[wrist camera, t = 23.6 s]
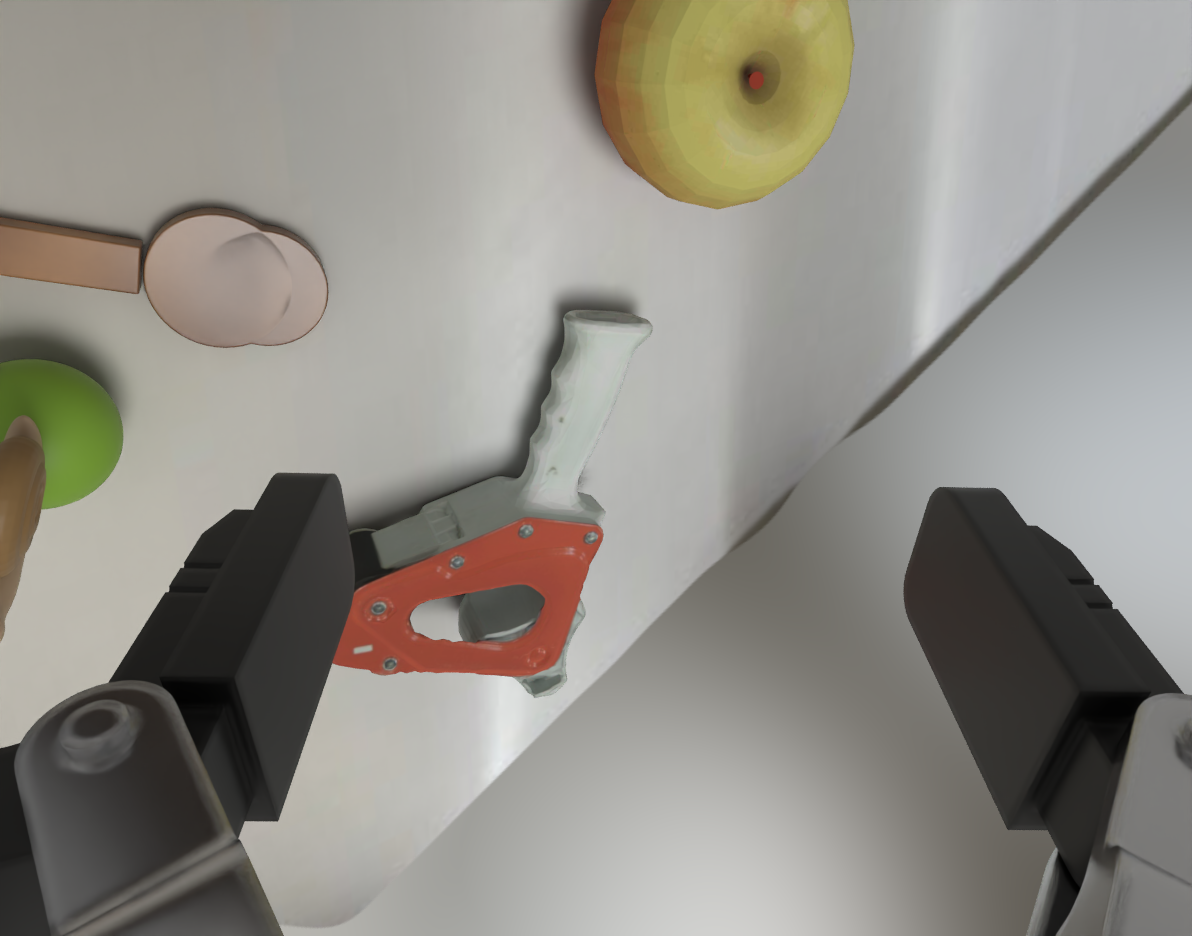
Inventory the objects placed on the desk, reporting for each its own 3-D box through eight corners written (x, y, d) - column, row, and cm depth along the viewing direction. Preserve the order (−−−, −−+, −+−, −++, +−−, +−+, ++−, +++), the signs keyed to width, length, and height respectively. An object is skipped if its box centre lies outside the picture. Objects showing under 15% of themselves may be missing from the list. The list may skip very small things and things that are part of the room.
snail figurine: (-45, 474, 32) (-163, 689, 22) (-31, 321, 29) (-155, 486, 20) (115, 494, 34) (71, 694, 25) (140, 355, 32) (102, 516, 23)
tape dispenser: (609, 268, 39) (218, 471, 36) (660, 293, 35) (221, 528, 31) (703, 535, 49) (402, 716, 45) (752, 581, 44) (424, 785, 41)
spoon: (-337, 270, 26) (-355, 280, 25) (-373, 96, 24) (-394, 100, 23) (317, 351, 35) (319, 360, 34) (334, 229, 32) (336, 235, 32)
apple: (523, 6, 31) (599, 13, 25) (733, -134, 31) (862, -162, 25) (630, 225, 37) (714, 277, 31) (806, 106, 37) (926, 132, 31)
